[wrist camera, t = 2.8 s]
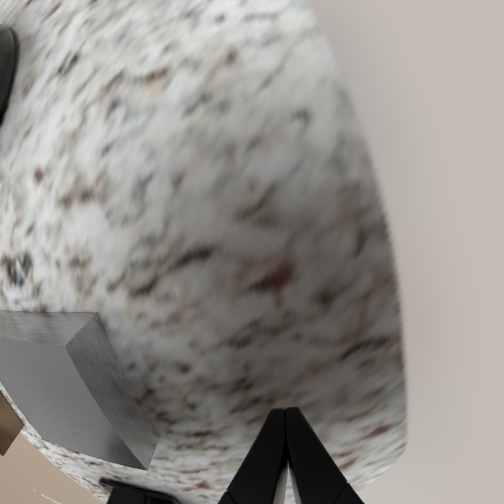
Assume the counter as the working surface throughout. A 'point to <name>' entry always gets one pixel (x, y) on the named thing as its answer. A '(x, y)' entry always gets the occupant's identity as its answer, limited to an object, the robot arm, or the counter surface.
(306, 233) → the counter surface
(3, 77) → the supplement bottle
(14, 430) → the curved brown bar
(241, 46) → the counter surface
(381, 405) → the counter surface
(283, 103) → the counter surface
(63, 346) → the grey metal plate
